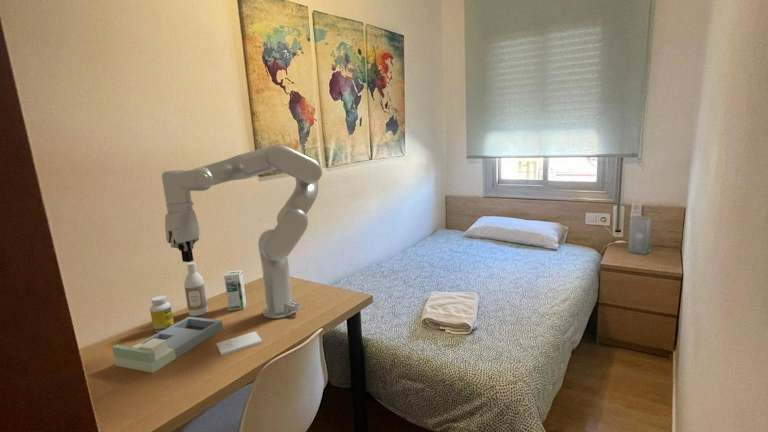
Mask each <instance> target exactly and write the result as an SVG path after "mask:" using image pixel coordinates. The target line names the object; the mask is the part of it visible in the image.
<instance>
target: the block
mask: <svg viewBox="0 0 768 432" xmlns="http://www.w3.org/2000/svg"><path fill="white" fill-rule="evenodd" d="M139 348H140V349H146V350H152V351H154V354H155V359H156V358H157V357H159V356H160V355H162V354H164V353H165V352H167V351H168V348H167V342H166V340H162V339H154V338H153V339H151V340H150V341H148V342H146V343H144V344H142V345H141V346H139Z"/></svg>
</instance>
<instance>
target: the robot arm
mask: <svg viewBox="0 0 768 432" xmlns="http://www.w3.org/2000/svg"><path fill="white" fill-rule="evenodd" d="M277 170H279V171H280V172H282V173H284V174H287V175H288V176H290V177H292V178H295V188H294V190H293V192H291V195H290V196H289V198H288V199H287V201H286V202H285V204H284V205H283V206H282V208H281V209H280V210H279V212H278V213H277V215H276V221H277V222H276V223H277V225H276V226H275V227H274V228H272V229H266V230H265V231H263V232H262V233H261V235H260V236H259V238H258V243H257V245H258V251H259V252H258V253H259V257H260V263H261V271H262V280H263V288H264V289H263V290H264V296H265V304H266V305H265V306H266V307H265V308H264V309H263V310H262V315H263V317H265V318H267V319H282V318H287V317H290V316H291V315H293V314H295V313H296V312H297V311H298V312H299V311H300V310H301V307H302V306H301V305H302V303H301V302H296V299H295V298H294V297H293V296H292V295H293V292H292V285H291V277H290V275H291V274H290V267H289V266H290V265H289V259H288V258H289V256H290V254H291V252H293V250H295V249H294V248H295V247H296V246H297V245H298V242H299V241H300V240H301V238H302V237H303V236H304V234H305V232H306V230H307V228H308V225H309V220H308V219H309V218H308V216H307V214H308V213H309V211H310V210H311V208H312V206H313V205H314V203H315V201H316V200H317V197H318V193H319V180H320V179H321V178H322V175H323V170H322V166H321V165H320V163H319V162H318V161H316V160H315V159H313V158H310V157H308V156H307V155H304V154H302V153H300V152H298V151H297V150H294V149H292V148H290V147H289V146H287V145H284V144H274V145H269V146H265V147H263V148H258V149H255V150H252V151H249V152H244V153H241V154H237V155H235V156H231V157H229V158H226V159H223V160H221V161H216V162H212V163H209V164H207V165H202V166H199V167H196V168H193V169H189V170H188V169H187V170H183V169H176V170H175V169H174V170H166V171H163V172H162V174H161V179H162V187H163V192H164V196H165V197H164V199H165V203H166V211H167V213H166V214H165V216H164V230H165V238H166V243H167V244H170V248H172V249H178V251H179V252H181V253H180V254H181V261H182V262H184V263H192V262H193V261H194V255H193V249H194V245H195V243H197V242H198V241H199V240H200V235H201V234H200V228H199V227H200V226H199V222H198V218H197V215H196V212H195V210H194V209H193V206H194V202H192V194H191V192H205V191H207V190H208V191H209V189H211V188H212V187H213V186H217V185H219V184H220V185H221V184H223V183H227V182H230V181H237V180H246V179H250V178H255V177H256V176H260V175H263V174H266V173H269V172H273V171H277Z"/></svg>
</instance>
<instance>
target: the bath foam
mask: <svg viewBox="0 0 768 432" xmlns="http://www.w3.org/2000/svg"><path fill="white" fill-rule="evenodd" d="M186 266H187V274H186V277H185V279H184V284H183V285H184V293H185V298H186V299H185V300H186V305H187V310H188V311H187V312H188V315H189V317H199V316H202V315H205V314H207V312H208V311H209V305H208V299H207V298H208V297H207V292H206V284H205V280H204V278H203V276H202V274H200V273H199V272H198V270H197V264H196V262H193V261H191V262H187V265H186Z"/></svg>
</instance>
